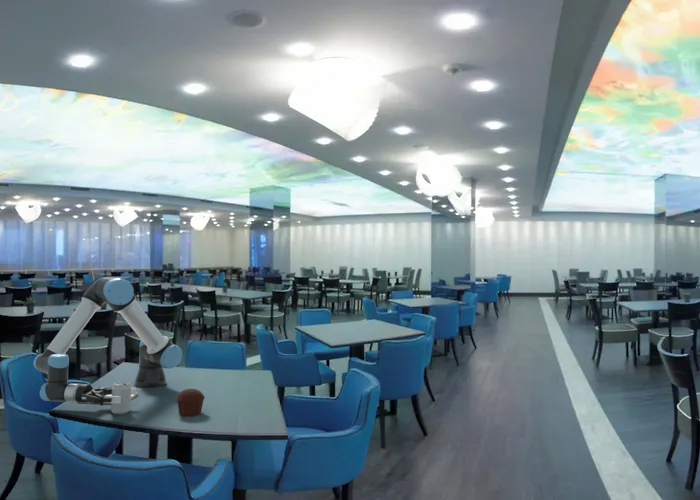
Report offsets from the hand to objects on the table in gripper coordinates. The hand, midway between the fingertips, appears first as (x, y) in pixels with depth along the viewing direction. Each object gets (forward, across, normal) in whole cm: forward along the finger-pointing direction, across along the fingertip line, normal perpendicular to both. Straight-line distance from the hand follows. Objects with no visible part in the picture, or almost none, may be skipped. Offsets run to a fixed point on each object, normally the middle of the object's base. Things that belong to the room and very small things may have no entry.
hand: (128, 395), depth 214 cm
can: (-3, 0, -7) cm, 8 cm away
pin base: (-18, -18, -7) cm, 26 cm away
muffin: (+25, -3, -7) cm, 27 cm away
